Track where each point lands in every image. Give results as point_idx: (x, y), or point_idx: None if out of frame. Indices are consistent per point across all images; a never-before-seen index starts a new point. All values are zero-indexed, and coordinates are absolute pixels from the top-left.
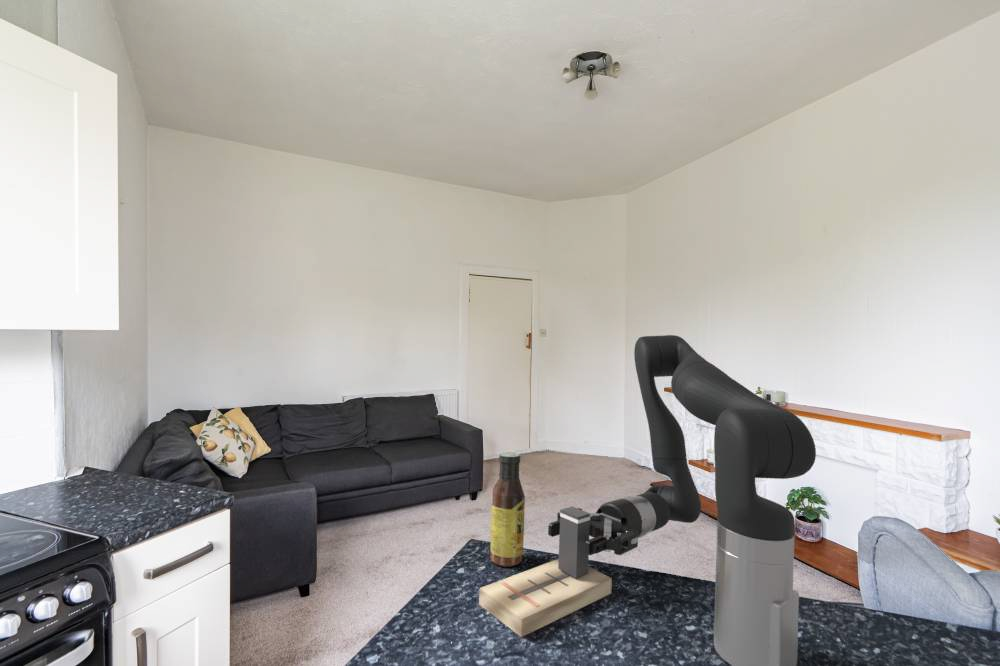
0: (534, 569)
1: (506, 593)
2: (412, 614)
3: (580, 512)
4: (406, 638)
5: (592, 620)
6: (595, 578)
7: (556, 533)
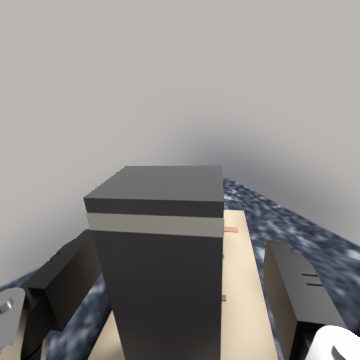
0: (255, 293)
1: None
2: (258, 195)
3: (135, 184)
4: (228, 186)
5: (96, 300)
6: None
7: (270, 294)
